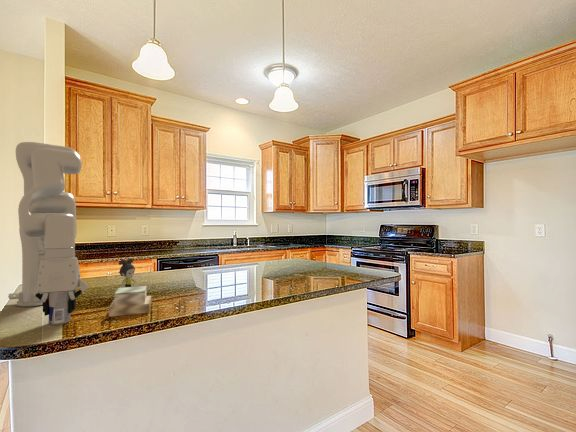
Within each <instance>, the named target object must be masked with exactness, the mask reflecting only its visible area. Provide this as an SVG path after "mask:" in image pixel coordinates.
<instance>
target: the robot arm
mask: <svg viewBox="0 0 576 432" xmlns="http://www.w3.org/2000/svg"><path fill="white" fill-rule="evenodd" d="M15 147H16V148H15V158H16V159H15V160H16V162H17V166H18V169H19V171H20V172H21V175H22V178H23V179H22V180H23V195H22V197H21V199H20V201H19V204H18V208H17V209H18V210H17V211H18V213H17V214H18V224H19V225H18V226H19V228H18V230H19V239H20V242H21V253H22V255H21V258H22V259H21V261H22V262H21V263H22V265H21V268H22V269H21V270H22V271H21V272H22V273H21V274H22V276H21V278H22V280H21V281H22V282H21V286H22V288H21V289H22V290H21V291H20V292H18V293H17V292H15V293H13V292H12V293H9V294H8V297H7V298H8V299H9V300H17V301H16V306H17V307H22V308H23V307H24V308H25V307H38V306H42V312H43V313H44V316H46V317H47V316H49V293H53V292H68V293H69V296H70V300H69V301H68V313H70V314H72V313H73V312H74V311H75V310H76V309H77V298H78V297H79V296H80V295H81V294H82V293H83V292H85V291H86V290H87V289H89V288H90V287H89V285H88V284H87V283H86V282H85V281H84V280H83V279H82V278H81V270H80V264H79V260H78V257H77V256H76V241H75V240H76V237H77V206H76V199H75V197H74V195H73V194H72V193H70V192H66V191H65V190H66V182H65V177H64V176H65V175H64V174H68V175H69V174H70V175H79V174H80V172H81V171H82V169H83V168H82V167H83V166H82V165H83V164H82V158H81V156H80V154H79V153H78V152H77V151H76V150H75V149H73V148H72V147H69V146H63V145H55V144H50V143H44V142H34V141H23V142H19V143H18V144H16V146H15ZM79 287H80V289H78V288H79ZM77 289H78V290H77ZM76 290H77V291H76Z"/></svg>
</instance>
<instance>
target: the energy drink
mask: <svg viewBox="0 0 576 432" xmlns="http://www.w3.org/2000/svg"><path fill="white" fill-rule="evenodd" d="M69 300H70V296H69V293H68V292H53V293H49V314H48V324H49V325H50V326H58V325H59V326H60V325H64V324H67V323H69V322H70V321H71V313H68V301H69Z"/></svg>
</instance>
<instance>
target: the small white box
mask: <svg viewBox="0 0 576 432" xmlns="http://www.w3.org/2000/svg"><path fill="white" fill-rule="evenodd" d="M147 293H148V292H147V285H139V286H131V287H125V286H123V287H118V289H117V290H116V291H115V292H114V299H113V300H112V302H111V303H110V304H109V306H108V317H118V316H120V317H121V316H128V315H129V316H130V315H139V314H148V313H149V314H150V311H151V305H152V295H147Z"/></svg>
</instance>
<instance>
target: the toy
mask: <svg viewBox="0 0 576 432" xmlns="http://www.w3.org/2000/svg"><path fill="white" fill-rule="evenodd" d="M132 263H134V259H133V258H128V259H127V260H125V259H120V260H119V262H118V265H119V266H120V265H121V267H120V268H119V275H120V276H121V277H124V279H122V281H121V284H120V286H121V287H132V282H133V283H136V282H137V280H135V279H134V278H133V277H134V275H135V271H136V267H135V266H134V264H132Z"/></svg>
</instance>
